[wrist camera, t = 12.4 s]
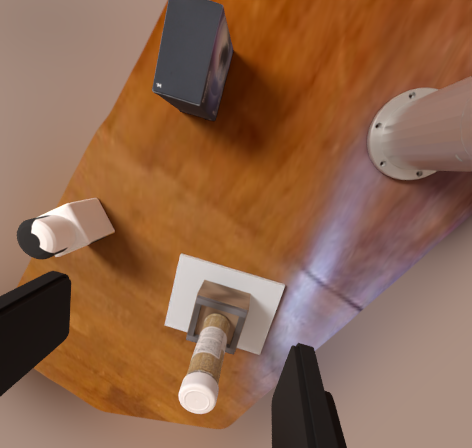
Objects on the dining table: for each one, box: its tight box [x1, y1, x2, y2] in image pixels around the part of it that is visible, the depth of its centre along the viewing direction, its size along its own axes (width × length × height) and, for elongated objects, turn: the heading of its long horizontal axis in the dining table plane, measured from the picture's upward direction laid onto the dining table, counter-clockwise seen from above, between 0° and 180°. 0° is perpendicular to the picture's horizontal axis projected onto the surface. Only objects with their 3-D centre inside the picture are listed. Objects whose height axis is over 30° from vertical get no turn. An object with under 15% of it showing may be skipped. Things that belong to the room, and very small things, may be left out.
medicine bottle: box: [17, 198, 115, 259], centre depth 39 cm, size 7×7×12 cm
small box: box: [152, 0, 233, 121], centre depth 31 cm, size 11×6×10 cm, turn 163°
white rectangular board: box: [165, 253, 285, 355], centre depth 45 cm, size 20×16×1 cm
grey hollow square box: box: [186, 280, 251, 354], centre depth 42 cm, size 9×9×6 cm
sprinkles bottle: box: [179, 313, 230, 414], centre depth 34 cm, size 5×5×13 cm
